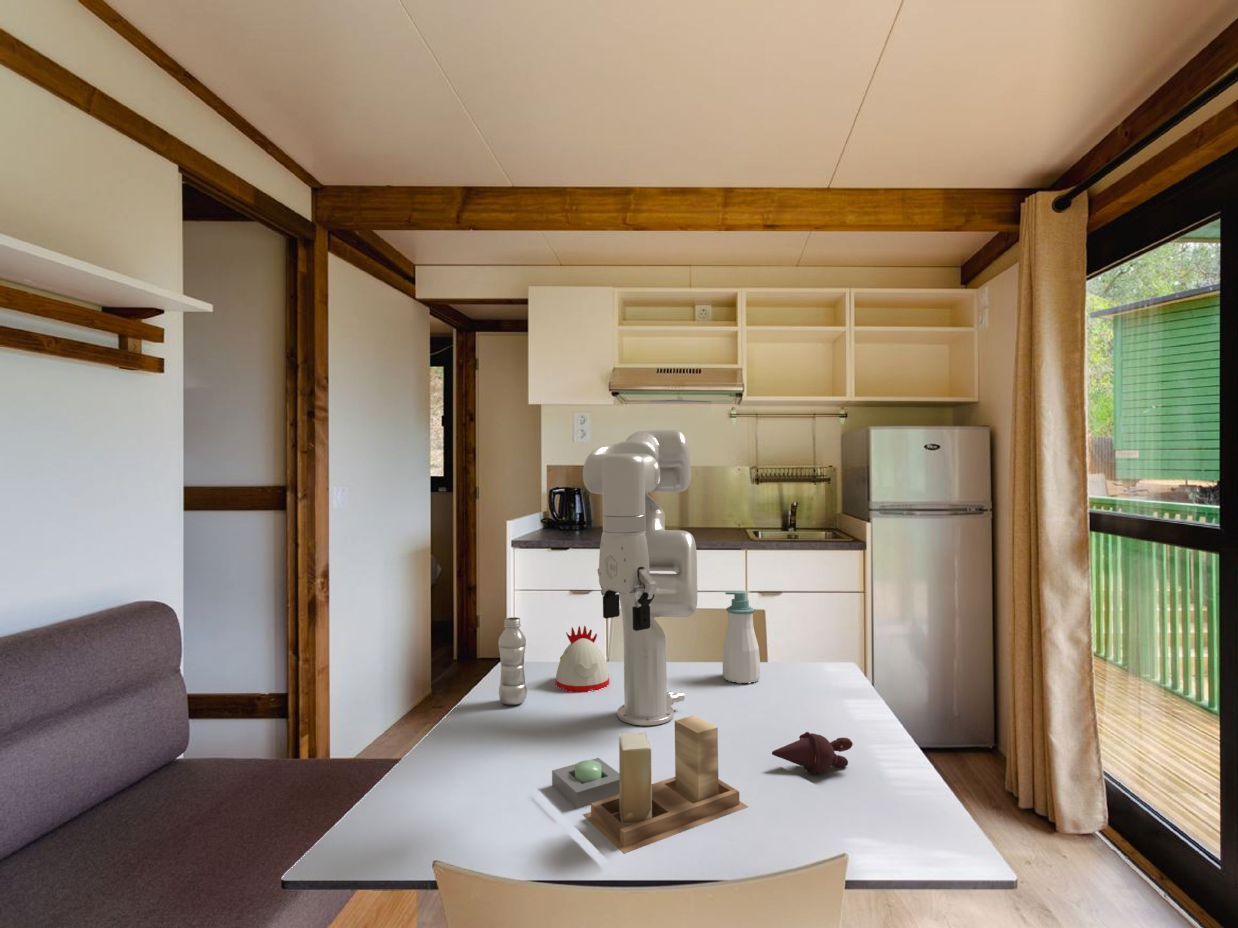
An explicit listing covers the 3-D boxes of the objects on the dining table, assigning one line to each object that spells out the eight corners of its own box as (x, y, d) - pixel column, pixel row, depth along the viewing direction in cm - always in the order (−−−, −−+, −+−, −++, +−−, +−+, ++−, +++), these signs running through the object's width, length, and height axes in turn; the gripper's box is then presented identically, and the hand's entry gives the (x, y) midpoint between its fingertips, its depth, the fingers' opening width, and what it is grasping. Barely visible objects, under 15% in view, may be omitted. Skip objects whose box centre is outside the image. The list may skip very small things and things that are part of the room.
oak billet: (695, 788, 103) (693, 715, 103) (718, 804, 98) (717, 727, 98) (675, 795, 101) (674, 720, 101) (698, 811, 96) (697, 732, 96)
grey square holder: (598, 777, 109) (598, 757, 109) (625, 799, 102) (625, 777, 102) (552, 791, 105) (552, 770, 105) (576, 815, 97) (576, 792, 97)
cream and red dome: (552, 678, 167) (552, 622, 168) (602, 673, 170) (602, 618, 171) (560, 694, 153) (560, 633, 154) (614, 689, 157) (613, 630, 157)
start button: (593, 778, 106) (593, 757, 106) (606, 789, 102) (606, 767, 103) (570, 785, 104) (570, 764, 104) (582, 796, 100) (582, 774, 100)
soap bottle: (721, 672, 170) (720, 589, 170) (758, 673, 169) (756, 589, 169) (724, 684, 160) (722, 595, 161) (762, 685, 159) (760, 595, 160)
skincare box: (618, 811, 96) (617, 731, 96) (646, 810, 96) (645, 730, 97) (623, 835, 89) (622, 749, 90) (652, 833, 90) (651, 747, 90)
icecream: (783, 749, 105) (864, 749, 108) (767, 722, 113) (843, 723, 115) (777, 784, 107) (856, 784, 109) (761, 755, 114) (836, 756, 116)
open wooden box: (700, 782, 107) (699, 764, 107) (748, 812, 97) (748, 793, 97) (582, 820, 95) (582, 801, 95) (624, 860, 85) (624, 838, 85)
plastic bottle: (521, 708, 144) (521, 622, 144) (494, 707, 145) (493, 621, 146) (530, 699, 150) (530, 616, 151) (504, 697, 151) (504, 615, 152)
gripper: (581, 523, 113) (583, 616, 114) (633, 531, 99) (635, 638, 99) (616, 520, 117) (617, 610, 118) (671, 528, 103) (672, 630, 103)
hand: (625, 622), depth 108 cm, fingers open, 9 cm apart
